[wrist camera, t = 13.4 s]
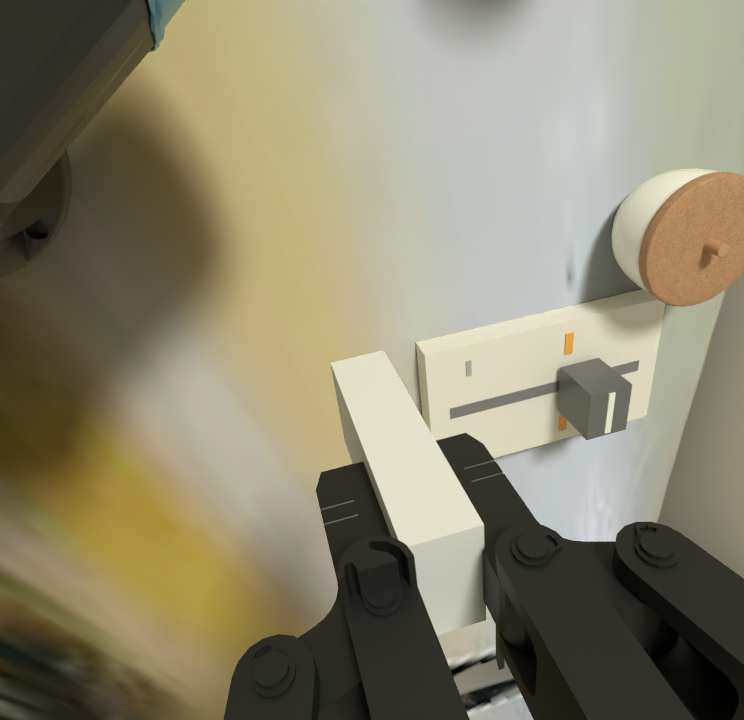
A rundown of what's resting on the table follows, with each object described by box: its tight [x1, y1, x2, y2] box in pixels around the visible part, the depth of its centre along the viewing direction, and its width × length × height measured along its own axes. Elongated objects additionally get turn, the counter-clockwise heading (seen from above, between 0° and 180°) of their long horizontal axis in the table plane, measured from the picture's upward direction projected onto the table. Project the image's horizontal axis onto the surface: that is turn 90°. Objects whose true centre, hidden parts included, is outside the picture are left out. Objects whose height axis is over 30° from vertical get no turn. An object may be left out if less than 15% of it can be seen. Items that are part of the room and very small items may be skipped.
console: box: [416, 289, 666, 458], centre depth 54 cm, size 24×14×3 cm, turn 97°
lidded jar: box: [611, 168, 744, 307], centre depth 46 cm, size 11×11×9 cm
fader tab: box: [558, 358, 632, 440], centre depth 51 cm, size 4×5×5 cm
